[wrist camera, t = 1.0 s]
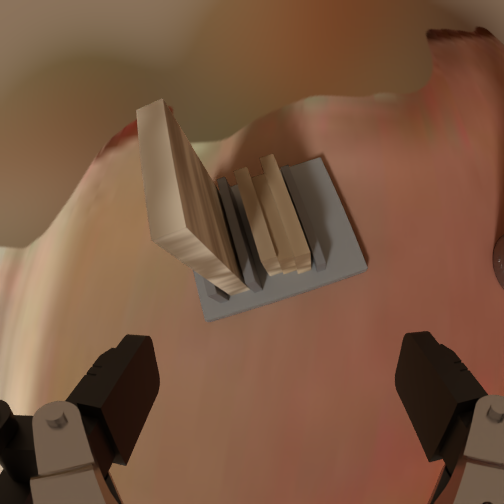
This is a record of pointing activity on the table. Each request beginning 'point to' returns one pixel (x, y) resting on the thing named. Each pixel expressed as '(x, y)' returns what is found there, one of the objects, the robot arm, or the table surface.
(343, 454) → the table surface
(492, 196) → the table surface
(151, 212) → the birch panel
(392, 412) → the table surface
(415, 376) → the robot arm
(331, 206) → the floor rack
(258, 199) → the pine offcuts
